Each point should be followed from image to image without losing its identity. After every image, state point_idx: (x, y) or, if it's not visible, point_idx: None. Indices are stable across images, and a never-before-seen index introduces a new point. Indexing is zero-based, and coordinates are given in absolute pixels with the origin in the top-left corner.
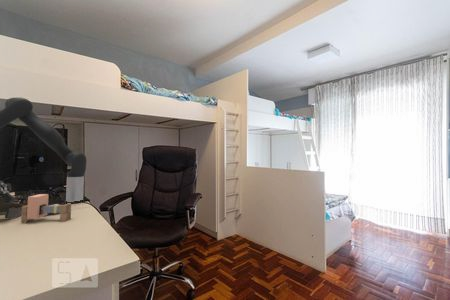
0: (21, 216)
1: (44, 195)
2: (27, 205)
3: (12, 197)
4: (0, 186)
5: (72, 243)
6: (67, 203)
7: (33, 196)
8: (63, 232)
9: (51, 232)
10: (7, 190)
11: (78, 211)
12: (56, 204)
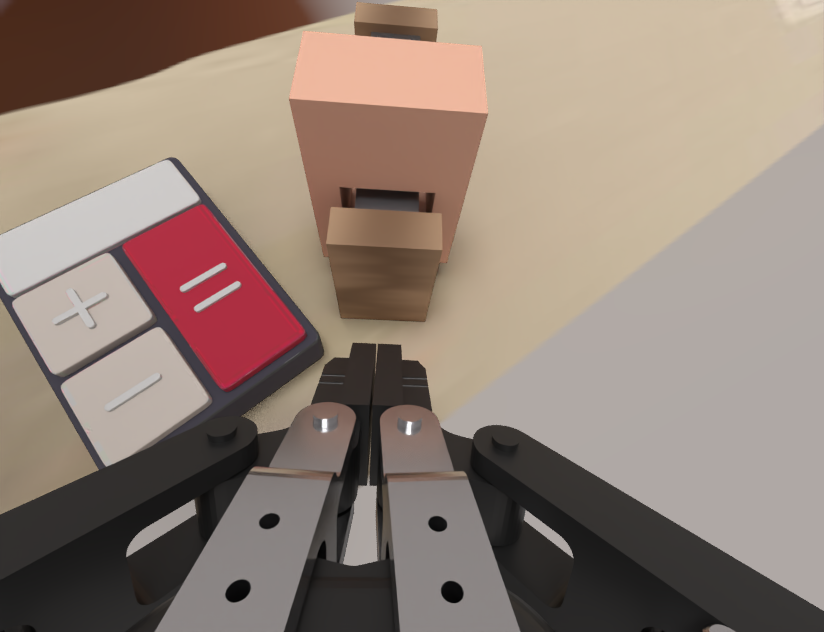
0: (429, 298)
1: (374, 40)
2: (395, 232)
3: (367, 349)
4: (401, 548)
5: (689, 15)
6: (356, 18)
7: (454, 85)
8: (590, 66)
9: (594, 101)
10: (293, 442)
11: (159, 129)
12: (9, 240)
